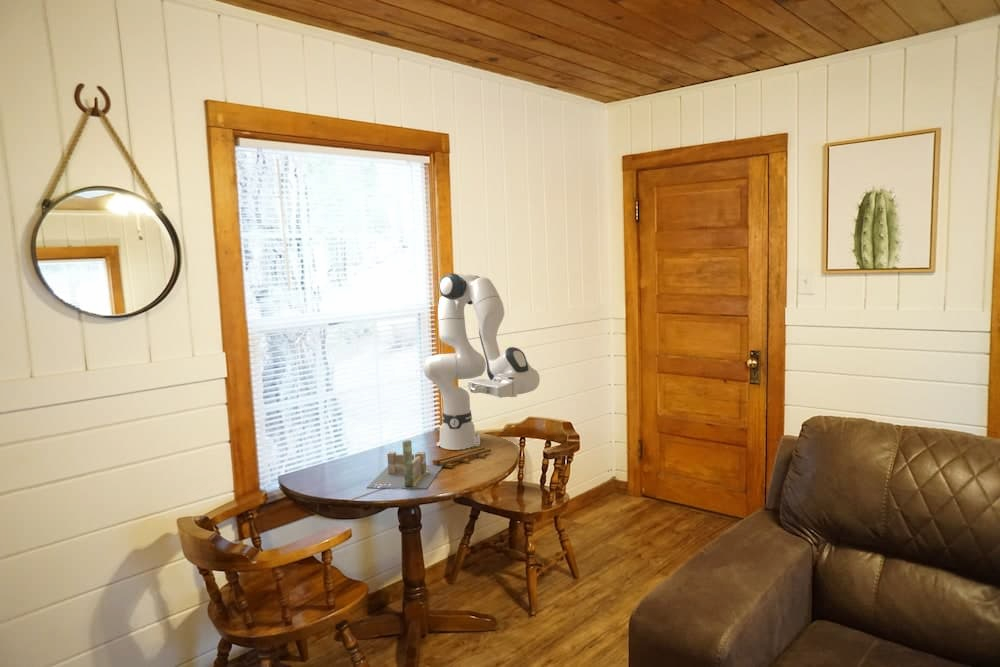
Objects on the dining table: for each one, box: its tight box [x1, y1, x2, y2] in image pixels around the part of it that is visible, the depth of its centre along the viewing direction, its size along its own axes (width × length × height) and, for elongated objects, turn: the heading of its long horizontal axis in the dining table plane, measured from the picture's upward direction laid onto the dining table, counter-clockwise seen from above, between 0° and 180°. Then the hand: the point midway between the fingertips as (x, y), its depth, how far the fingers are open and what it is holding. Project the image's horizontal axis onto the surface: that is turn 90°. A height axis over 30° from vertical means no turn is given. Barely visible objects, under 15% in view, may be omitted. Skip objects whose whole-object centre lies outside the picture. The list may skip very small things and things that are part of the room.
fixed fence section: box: [386, 451, 415, 474], centre depth 242 cm, size 2×9×8 cm, turn 82°
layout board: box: [366, 464, 444, 490], centre depth 239 cm, size 26×21×1 cm
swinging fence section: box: [402, 439, 427, 486], centre depth 234 cm, size 3×17×15 cm, turn 170°
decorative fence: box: [432, 446, 492, 469], centre depth 258 cm, size 25×2×10 cm
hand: (472, 390), depth 239 cm, fingers closed
